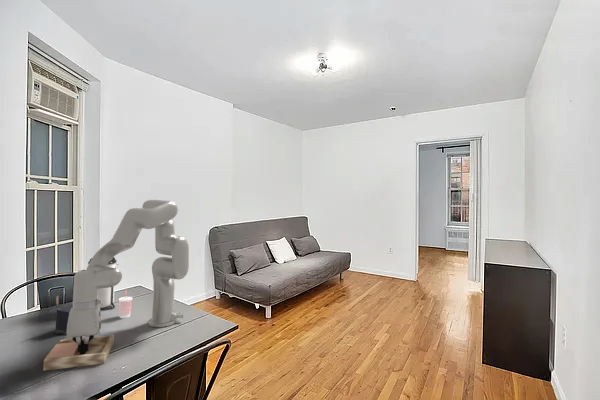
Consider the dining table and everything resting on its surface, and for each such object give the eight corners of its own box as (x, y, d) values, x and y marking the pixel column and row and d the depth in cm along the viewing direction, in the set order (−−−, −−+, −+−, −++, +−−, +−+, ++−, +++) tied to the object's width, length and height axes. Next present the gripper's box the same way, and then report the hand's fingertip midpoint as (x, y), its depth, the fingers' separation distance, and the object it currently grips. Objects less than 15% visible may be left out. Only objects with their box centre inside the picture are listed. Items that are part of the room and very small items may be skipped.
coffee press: (97, 301, 176) (99, 248, 176) (123, 304, 174) (125, 250, 174) (70, 312, 159) (72, 253, 159) (98, 315, 157) (101, 255, 157)
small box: (66, 336, 134) (67, 311, 134) (54, 334, 135) (55, 309, 135) (88, 326, 144) (89, 303, 144) (76, 324, 146) (77, 302, 146)
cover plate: (81, 349, 122) (81, 341, 122) (71, 363, 112) (72, 355, 112) (56, 351, 119) (56, 344, 119) (44, 367, 109) (44, 358, 109)
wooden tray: (113, 345, 128) (114, 334, 128) (104, 365, 113) (104, 353, 113) (60, 350, 122) (60, 339, 122) (43, 372, 107) (43, 360, 107)
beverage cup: (128, 313, 162) (129, 286, 162) (133, 316, 158) (135, 288, 158) (115, 316, 157) (117, 288, 157) (120, 319, 153) (122, 291, 153)
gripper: (110, 299, 123) (108, 346, 124) (64, 302, 118) (62, 351, 118) (106, 306, 116) (103, 355, 117) (57, 309, 111) (54, 361, 111)
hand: (82, 353), depth 117 cm, fingers closed
